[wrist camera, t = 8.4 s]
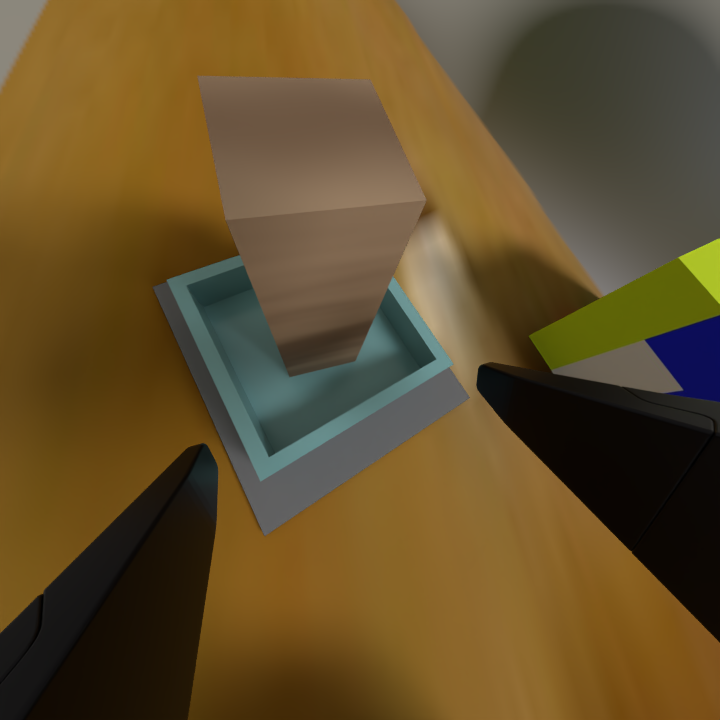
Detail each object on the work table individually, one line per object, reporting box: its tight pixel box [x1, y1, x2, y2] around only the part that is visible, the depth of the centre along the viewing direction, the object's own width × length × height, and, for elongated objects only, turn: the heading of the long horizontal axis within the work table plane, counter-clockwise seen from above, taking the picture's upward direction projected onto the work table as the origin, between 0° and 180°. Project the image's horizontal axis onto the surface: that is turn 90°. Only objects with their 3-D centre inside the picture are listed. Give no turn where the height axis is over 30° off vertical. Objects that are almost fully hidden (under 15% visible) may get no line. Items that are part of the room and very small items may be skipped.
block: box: [198, 76, 426, 377], centre depth 12 cm, size 4×4×12 cm
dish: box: [167, 255, 453, 482], centre depth 17 cm, size 13×13×3 cm
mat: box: [153, 282, 470, 536], centre depth 19 cm, size 18×16×1 cm
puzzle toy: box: [529, 239, 720, 402], centre depth 18 cm, size 10×10×10 cm
